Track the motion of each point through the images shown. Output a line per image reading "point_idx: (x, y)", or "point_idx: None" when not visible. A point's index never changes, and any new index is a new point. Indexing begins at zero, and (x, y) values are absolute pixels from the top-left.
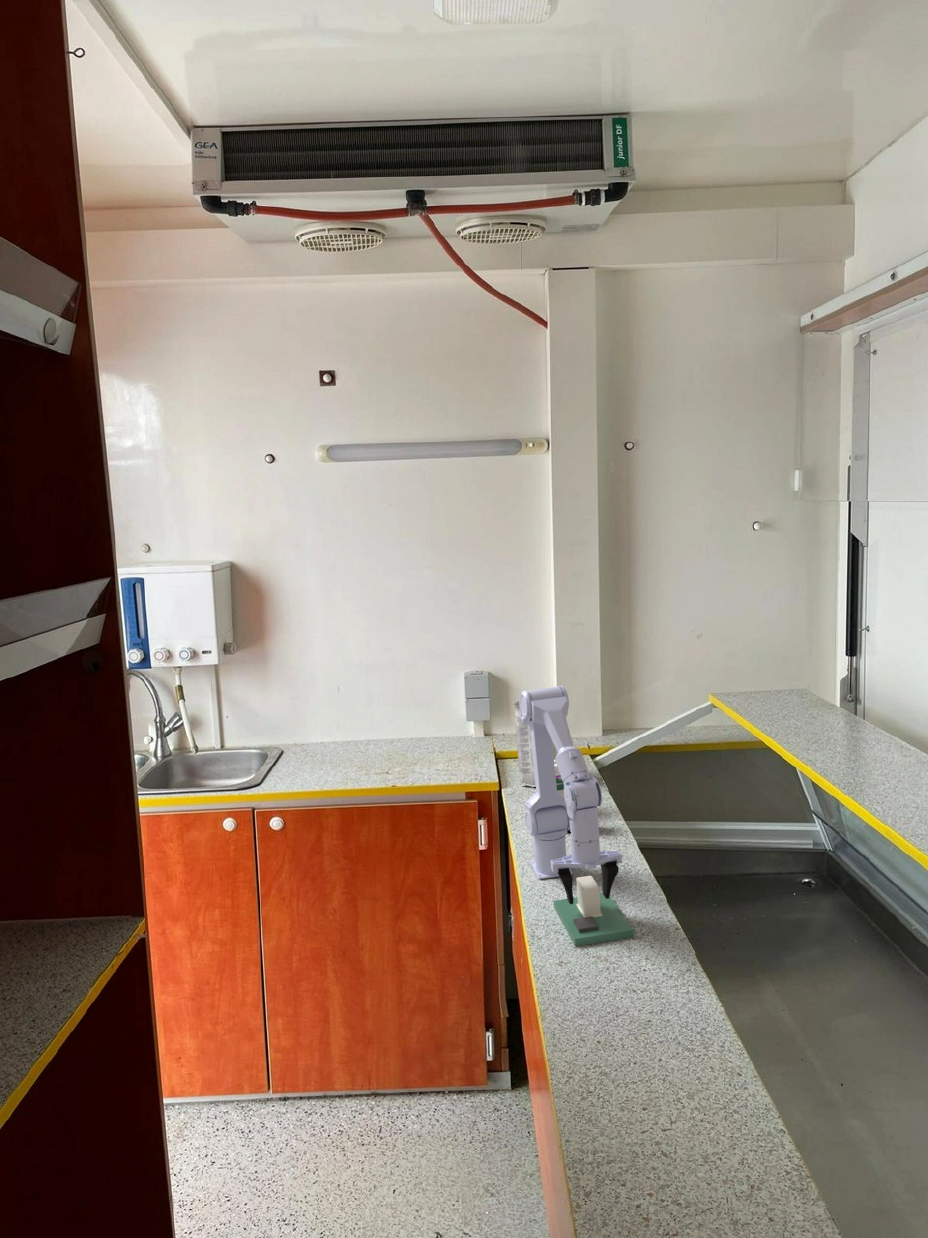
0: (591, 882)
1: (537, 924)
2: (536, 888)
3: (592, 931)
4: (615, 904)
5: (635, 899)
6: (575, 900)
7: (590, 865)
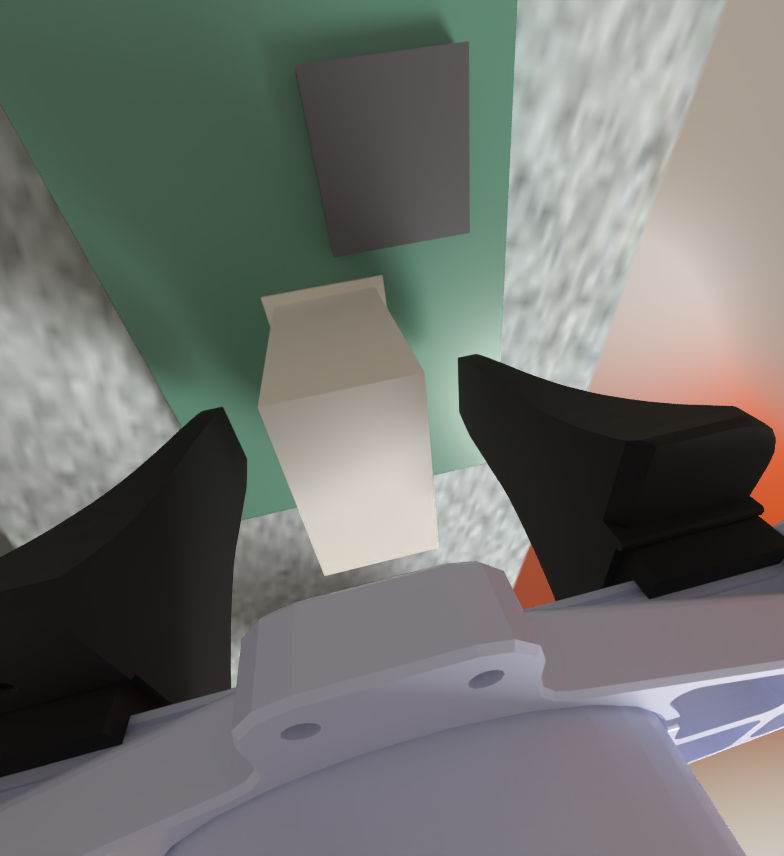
0: (331, 493)
1: (598, 309)
2: (502, 550)
3: (350, 42)
4: (181, 421)
5: (95, 497)
6: None
7: (431, 688)
